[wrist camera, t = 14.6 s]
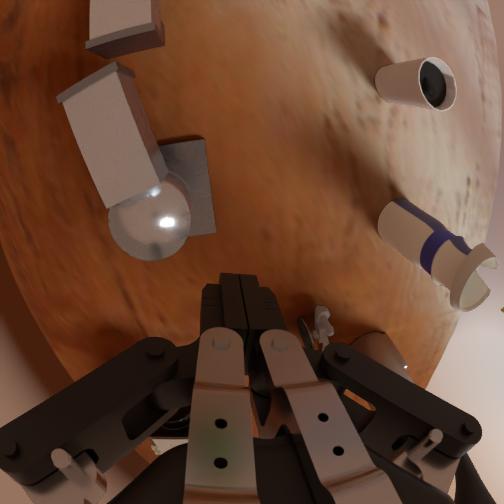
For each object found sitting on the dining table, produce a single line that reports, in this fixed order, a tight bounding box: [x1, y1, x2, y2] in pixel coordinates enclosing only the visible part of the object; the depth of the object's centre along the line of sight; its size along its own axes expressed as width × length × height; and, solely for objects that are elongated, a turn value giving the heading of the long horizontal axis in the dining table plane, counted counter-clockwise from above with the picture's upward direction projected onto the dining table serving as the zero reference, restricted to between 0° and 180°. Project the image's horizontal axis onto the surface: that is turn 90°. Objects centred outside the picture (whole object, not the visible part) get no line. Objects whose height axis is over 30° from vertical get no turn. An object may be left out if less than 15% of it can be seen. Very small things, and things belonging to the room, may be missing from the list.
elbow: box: [56, 61, 193, 261], centre depth 25 cm, size 19×8×6 cm, turn 18°
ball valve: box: [150, 405, 191, 455], centre depth 43 cm, size 18×8×18 cm, turn 1°
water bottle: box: [378, 199, 504, 312], centre depth 30 cm, size 8×9×25 cm
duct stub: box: [159, 139, 216, 237], centre depth 32 cm, size 12×12×5 cm
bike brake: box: [298, 305, 334, 351], centre depth 48 cm, size 14×7×20 cm
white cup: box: [375, 57, 457, 112], centre depth 27 cm, size 7×7×10 cm
